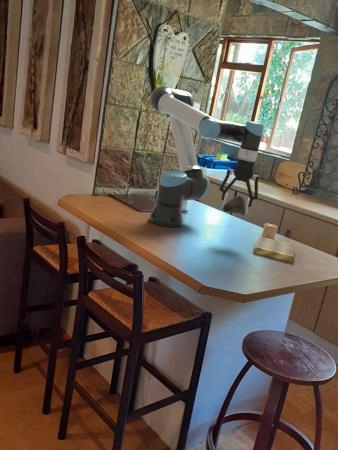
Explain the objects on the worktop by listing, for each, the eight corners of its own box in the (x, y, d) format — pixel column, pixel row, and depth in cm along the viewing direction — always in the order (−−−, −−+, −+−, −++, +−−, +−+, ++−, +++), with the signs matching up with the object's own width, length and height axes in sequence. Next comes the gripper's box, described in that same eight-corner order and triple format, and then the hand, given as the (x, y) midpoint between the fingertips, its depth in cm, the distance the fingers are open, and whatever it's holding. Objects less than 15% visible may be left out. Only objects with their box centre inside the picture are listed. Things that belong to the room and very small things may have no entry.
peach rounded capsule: (260, 239, 204) (264, 225, 202) (261, 236, 210) (265, 222, 208) (273, 242, 203) (277, 228, 201) (274, 239, 208) (278, 225, 206)
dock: (253, 252, 183) (254, 246, 182) (257, 241, 200) (258, 236, 199) (291, 262, 179) (293, 256, 178) (293, 250, 196) (294, 245, 195)
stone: (232, 223, 185) (252, 211, 184) (221, 207, 184) (242, 193, 183) (229, 221, 195) (248, 208, 194) (219, 204, 194) (238, 192, 193)
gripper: (219, 154, 183) (208, 206, 190) (272, 166, 178) (258, 218, 185) (222, 153, 190) (211, 202, 197) (273, 164, 185) (260, 215, 192)
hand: (234, 210), depth 191 cm, fingers closed on stone, 9 cm apart
